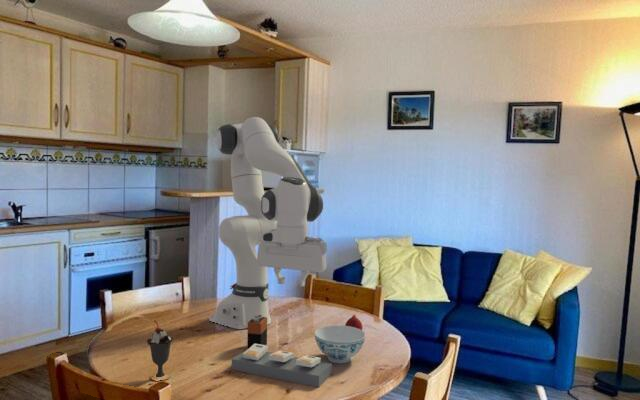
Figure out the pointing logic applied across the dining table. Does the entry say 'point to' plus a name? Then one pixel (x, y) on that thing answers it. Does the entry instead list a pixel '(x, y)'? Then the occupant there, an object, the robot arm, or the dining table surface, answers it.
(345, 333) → the chinaware
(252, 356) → the rocker
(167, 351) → the sundae
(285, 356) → the rocker
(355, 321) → the red rounded piece
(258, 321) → the battery
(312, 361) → the block
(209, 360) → the dining table surface
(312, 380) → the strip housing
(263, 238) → the robot arm
